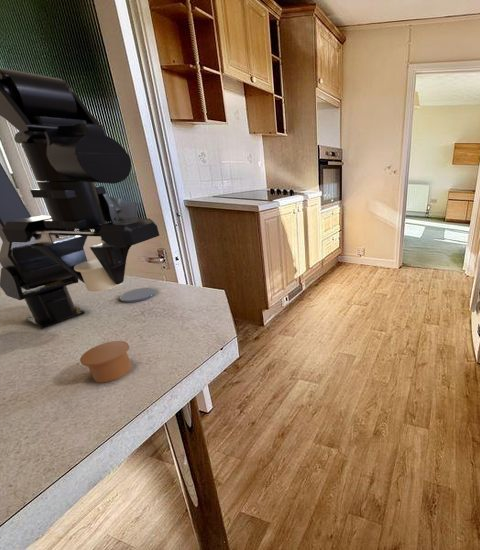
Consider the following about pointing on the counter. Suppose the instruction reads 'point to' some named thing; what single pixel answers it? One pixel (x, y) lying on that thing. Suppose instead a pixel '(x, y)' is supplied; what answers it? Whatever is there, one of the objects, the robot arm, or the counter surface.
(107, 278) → the cream pod
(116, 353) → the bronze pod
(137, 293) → the saucer
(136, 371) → the counter surface
